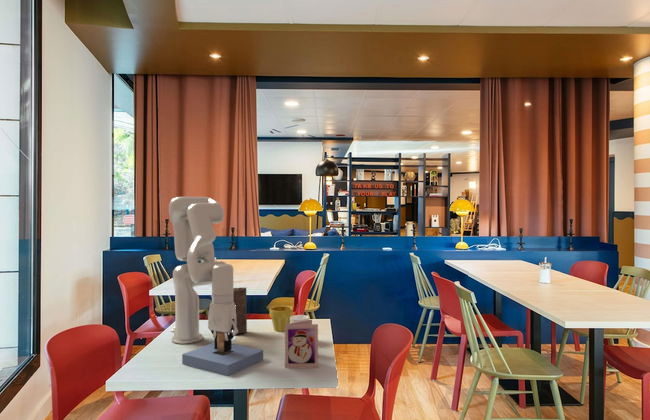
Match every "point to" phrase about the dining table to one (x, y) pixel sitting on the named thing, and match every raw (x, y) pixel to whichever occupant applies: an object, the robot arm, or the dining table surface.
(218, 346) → the leg peg
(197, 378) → the dining table surface
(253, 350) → the board
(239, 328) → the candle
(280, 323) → the plant pot
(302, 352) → the greeting card
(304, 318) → the white cup
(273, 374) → the dining table surface
